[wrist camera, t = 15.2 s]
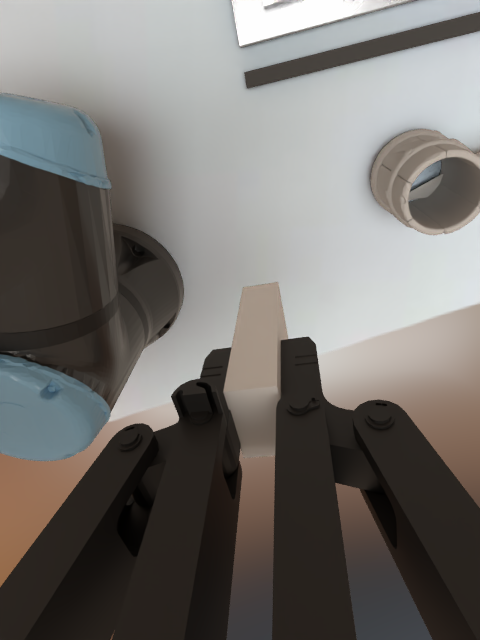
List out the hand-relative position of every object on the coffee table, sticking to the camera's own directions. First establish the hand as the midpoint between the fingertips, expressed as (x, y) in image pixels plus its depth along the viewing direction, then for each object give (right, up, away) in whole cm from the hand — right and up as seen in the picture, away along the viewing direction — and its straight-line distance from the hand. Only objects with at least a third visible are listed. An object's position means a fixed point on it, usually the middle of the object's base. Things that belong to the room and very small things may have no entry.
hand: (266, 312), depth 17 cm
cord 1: (+11, +23, +16) cm, 30 cm away
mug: (+17, +15, +21) cm, 31 cm away
